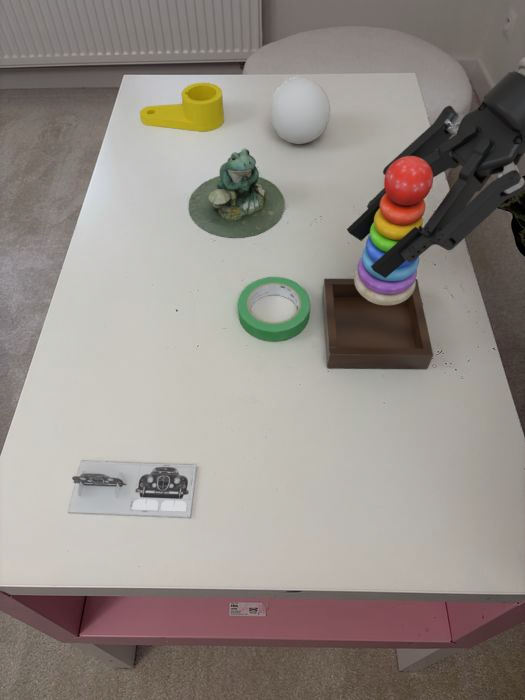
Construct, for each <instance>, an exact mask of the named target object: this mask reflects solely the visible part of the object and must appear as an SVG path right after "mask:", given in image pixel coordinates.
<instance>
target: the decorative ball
mask: <svg viewBox="0 0 525 700" xmlns="http://www.w3.org/2000/svg"><path fill="white" fill-rule="evenodd" d="M269 117H270V122H271V125H272V127H273V129H274V131H275V132H276V134H277V135H278V136H279V137H280V138H281V139H282V140H285V141H287V142H288V143H290V144H294V145H295V144H296V145H303V144H307V143H310V142H313V141H314V140H316V139H317V138H319V137H320V136H321V135H322V134H323V133H324V131H325V129H326V128H327V126H328V123H329V121H330V117H331V103H330V99H329V96H328V93H327V91H326V90H325V89H324V88H323V86H322V85H321V84H320V83H318V82H317V81H315V80H314V79H312V78H308V77H303V76H291V77H289V78H286V79H285V80H284V81H283V83H282V84H280V85H279V86H278V87H277V88H276V90H274V93H273V95H272V97H271V101H270V106H269Z"/></svg>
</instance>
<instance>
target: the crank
mask: <svg viewBox="0 0 525 700" xmlns="http://www.w3.org/2000/svg"><path fill="white" fill-rule="evenodd" d="M181 101H182V103H174V104H173V103H172V104H161V105H160V104H159V105H158V104H157V105H148V106H145V107H143V108H142V109H140V111H139V115H140V120H141V124H143V125H145V126H150V127H159V128H167V129H168V128H169V129H177V130H183V131H184V130H185V131H186V130H187V131H193V132H194V131H195V132H210V131H214V130H217V129H219V128H220V127H222V125H223V124H224V122H225V115H224V101H223V91H222V88H221V87H220V86H218V85H217V84H214V83H210V82H195V83H192V84H190V85H187V86H186V87H184V88H183V89H182V90H181Z"/></svg>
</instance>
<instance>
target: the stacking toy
mask: <svg viewBox="0 0 525 700" xmlns="http://www.w3.org/2000/svg"><path fill="white" fill-rule="evenodd" d="M383 179H384V180H383V186H384V187H385V191H386V194H384V196H383V197H382V198H381V201H380V209H379V210H378V211H377V212H376V214H375V217H374V222H373V224H372V225H371V228H370V234H368V235H367V236H368V237H366V242H365V245H364V248H363V250H362V253H361V257H359V260H358V263H357V268H356V270H355V271H354V276H353V279H354V283H355V286H356V289H357V290H358V292H359V293H360V294H361V295H362V296H363V297H364V298H365V299H367V300H368V301H370V302H372V303H375V304H378V305H395V304H399V303H402V302H404V301H405V300H407V299H408V298H409V297H410V296H411V295H412V293H413V291H414V289H415V286H416V279H417V276H418V267H419V264H420V256H419V257H417V258H416V259H415V260H414V261H412V262H410V263H409V262H408V261H405V262H404V263H403V264H401V265H400V266H399V267H398V268H397V269H396V270H394V271H393V272H392V273H391V274H390V275H389V276H387V277H386V278H384V277H383V276H381V275H379V274H378V273H376V272H375V271H373V269H372V268H371V266H372V265H373V264H374V263H375V262H376V261H377V260H378V259H380V258H381V257H382V256H383V255H384V254H385V253H386V252H387V251H389V250H390V249H391V248H392V247H393V246H394V245H395V244H396V243H398V242H399V241H400V240H401V239H402V238H403V237H404V236H405V235H406V234H408V233H409V232H410V231H411V230H412V229H413V228H414V227H416V228H418V229H419V226H421V227H424V226H423V225H424V218H423V217H424V216H425V215H424V214H425V213H426V205H427V204H426V201H425V198H427V196H428V195H429V193H430V192H431V190H432V187H433V184H434V178H433V172H432V170H431V167H430V166H429V164H428V163H427V162H426V161H424V160H423V159H421V158H419V157H416V156H405V157H402V158H400V159H398V160H396V161H395V162H393V163H392V164H391V166H390V167H389V168H388V170H387V172H386V174H385V175H384V178H383ZM384 187H383V188H384Z"/></svg>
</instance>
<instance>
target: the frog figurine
mask: <svg viewBox="0 0 525 700" xmlns="http://www.w3.org/2000/svg"><path fill="white" fill-rule="evenodd" d="M256 164H257V161H256V158H255V157H254V156H252V155H251V154H250V150H249V149H247V148H246V147H244V148H242V149H241V150H240V152H237V151H234V152H232V153H231V154H230V157H229V158H227V161H226V162H225V163H223V164H221V166H220V168H219V175H217V176H215V177H213V178H210V179H208V180H207V181H203V183H201V184H200V185H198V187H196V189H195V190H194V191H193V192H192V193H191V195H190V197H189V199H188V213H189V216H190V218H191V219H192V221H193V222H194V224H196V225H197V227H199V228H200V229H202V230H203V231H205V232H207V233H209V234H212V235H215V236H218V237H221V238H222V237H223V238H229V239H232V238H233V239H241V238H249V237H252V236H257V235H259V234H262V233H264V232H266V231H267V230H269V229H271V228H272V227H274V226H275V225H276V224H277V223H278V222H279V221H280V220H281V218H282V216H283V214H284V213H285V212H284V211H285V207H286V202H285V198H284V194H283V193H282V192H281V190H280V189H279V188H278V187H277V186H276V185H275V184H274V183H273V182H271V181H270V180H268V179H266V178H265V177H262V176H260V171H259V170H258V167H257V166H256Z"/></svg>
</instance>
